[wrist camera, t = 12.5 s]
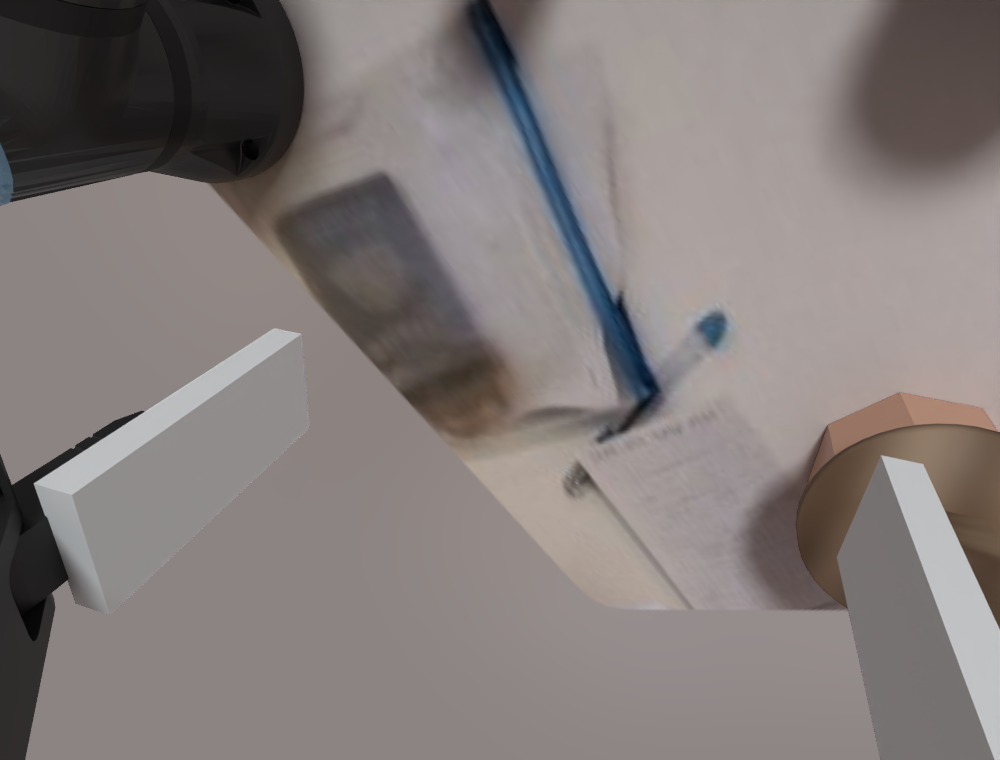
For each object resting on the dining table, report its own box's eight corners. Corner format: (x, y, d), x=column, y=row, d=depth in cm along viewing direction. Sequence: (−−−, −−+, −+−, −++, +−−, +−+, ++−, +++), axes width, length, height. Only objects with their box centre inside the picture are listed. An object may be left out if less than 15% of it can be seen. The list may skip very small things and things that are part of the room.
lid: (771, 586, 42) (776, 685, 36) (833, 400, 36) (854, 479, 29) (1018, 650, 39) (1075, 773, 32) (1137, 455, 32) (1239, 560, 26)
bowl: (794, 517, 46) (801, 574, 41) (843, 381, 41) (857, 428, 36) (968, 559, 44) (998, 626, 39) (1044, 419, 38) (1090, 476, 33)
